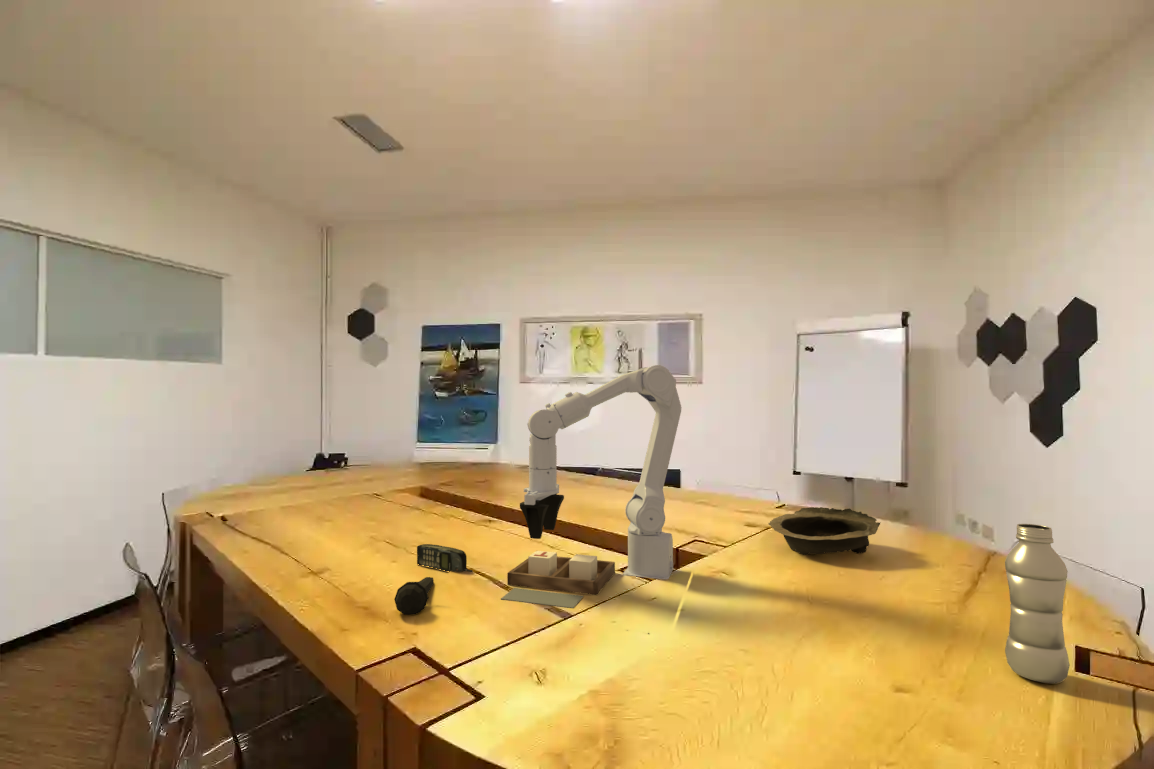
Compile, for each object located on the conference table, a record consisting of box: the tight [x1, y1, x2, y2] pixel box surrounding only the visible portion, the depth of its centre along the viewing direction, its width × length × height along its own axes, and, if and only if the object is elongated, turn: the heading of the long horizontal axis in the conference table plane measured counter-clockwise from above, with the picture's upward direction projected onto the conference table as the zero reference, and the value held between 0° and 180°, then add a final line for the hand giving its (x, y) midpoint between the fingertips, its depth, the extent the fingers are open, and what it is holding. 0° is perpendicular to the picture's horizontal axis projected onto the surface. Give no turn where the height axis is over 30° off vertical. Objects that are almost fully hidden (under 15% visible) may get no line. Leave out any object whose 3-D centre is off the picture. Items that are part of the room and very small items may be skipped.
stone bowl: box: [767, 506, 881, 556], centre depth 134 cm, size 25×25×9 cm
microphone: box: [394, 576, 435, 616], centre depth 102 cm, size 6×6×20 cm
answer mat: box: [500, 587, 585, 609], centre depth 101 cm, size 14×6×1 cm, turn 72°
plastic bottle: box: [1004, 523, 1071, 684], centre depth 73 cm, size 6×7×20 cm
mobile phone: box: [416, 543, 473, 573], centre depth 120 cm, size 5×3×15 cm
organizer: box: [506, 555, 616, 596], centre depth 112 cm, size 18×14×3 cm
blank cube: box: [569, 553, 598, 581], centre depth 110 cm, size 4×4×4 cm
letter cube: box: [527, 550, 558, 576], centre depth 113 cm, size 4×4×5 cm
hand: (542, 533), depth 113 cm, fingers open, 7 cm apart
